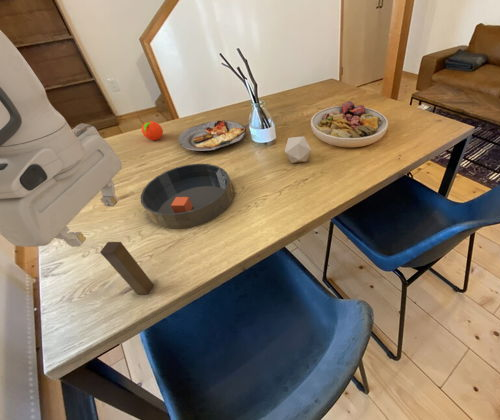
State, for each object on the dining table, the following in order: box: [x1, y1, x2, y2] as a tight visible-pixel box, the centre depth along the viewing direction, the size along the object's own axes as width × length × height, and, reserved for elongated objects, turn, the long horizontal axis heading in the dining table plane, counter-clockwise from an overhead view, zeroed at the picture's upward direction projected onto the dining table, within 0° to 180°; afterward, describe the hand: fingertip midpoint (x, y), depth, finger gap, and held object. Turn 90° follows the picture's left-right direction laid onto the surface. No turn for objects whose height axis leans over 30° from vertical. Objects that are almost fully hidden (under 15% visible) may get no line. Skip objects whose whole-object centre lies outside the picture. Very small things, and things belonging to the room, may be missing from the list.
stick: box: [99, 241, 154, 295], centre depth 54 cm, size 2×2×14 cm
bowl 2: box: [310, 100, 389, 148], centre depth 108 cm, size 30×30×8 cm
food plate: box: [177, 119, 247, 151], centre depth 106 cm, size 25×23×4 cm
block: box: [171, 197, 193, 213], centre depth 74 cm, size 4×4×4 cm
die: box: [284, 135, 312, 164], centre depth 93 cm, size 8×9×10 cm
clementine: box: [141, 120, 164, 141], centre depth 105 cm, size 8×7×7 cm
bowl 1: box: [139, 163, 234, 230], centre depth 79 cm, size 23×23×5 cm
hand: (97, 222), depth 47 cm, fingers open, 8 cm apart
